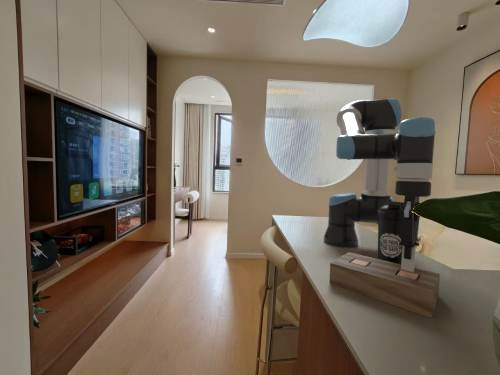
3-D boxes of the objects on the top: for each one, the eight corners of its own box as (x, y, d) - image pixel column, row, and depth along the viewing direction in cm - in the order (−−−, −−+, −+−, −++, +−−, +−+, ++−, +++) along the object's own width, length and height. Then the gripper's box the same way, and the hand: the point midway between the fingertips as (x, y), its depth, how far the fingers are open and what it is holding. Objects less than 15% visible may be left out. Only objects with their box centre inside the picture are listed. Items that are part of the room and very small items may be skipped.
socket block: (347, 269, 80) (348, 252, 79) (438, 295, 63) (439, 273, 63) (329, 282, 70) (330, 262, 69) (431, 318, 53) (433, 292, 53)
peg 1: (354, 277, 73) (355, 258, 73) (368, 281, 71) (369, 262, 70) (349, 281, 70) (350, 262, 70) (363, 285, 68) (364, 266, 67)
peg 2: (399, 290, 65) (400, 270, 65) (417, 296, 62) (418, 274, 62) (396, 296, 62) (397, 274, 62) (414, 301, 59) (415, 279, 59)
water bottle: (370, 269, 80) (374, 202, 79) (379, 261, 88) (382, 200, 87) (406, 278, 74) (410, 205, 72) (411, 269, 81) (415, 202, 80)
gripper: (401, 179, 68) (397, 259, 69) (389, 180, 58) (384, 272, 60) (434, 180, 63) (428, 266, 64) (427, 181, 53) (420, 282, 55)
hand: (407, 269), depth 62 cm, fingers closed
